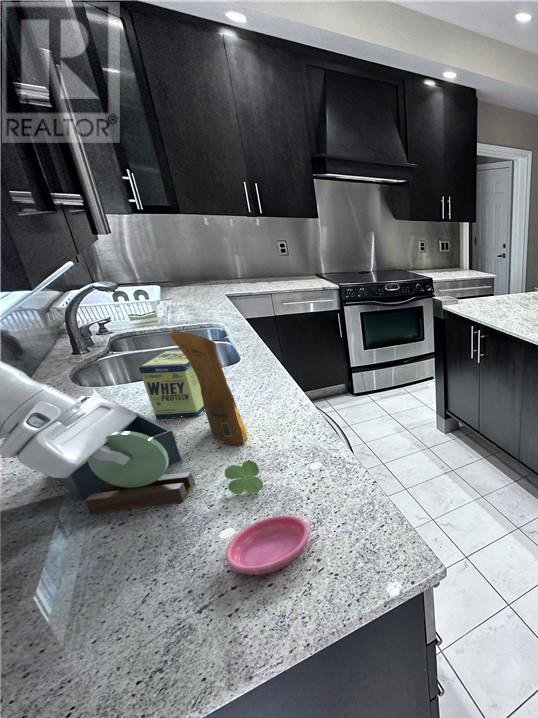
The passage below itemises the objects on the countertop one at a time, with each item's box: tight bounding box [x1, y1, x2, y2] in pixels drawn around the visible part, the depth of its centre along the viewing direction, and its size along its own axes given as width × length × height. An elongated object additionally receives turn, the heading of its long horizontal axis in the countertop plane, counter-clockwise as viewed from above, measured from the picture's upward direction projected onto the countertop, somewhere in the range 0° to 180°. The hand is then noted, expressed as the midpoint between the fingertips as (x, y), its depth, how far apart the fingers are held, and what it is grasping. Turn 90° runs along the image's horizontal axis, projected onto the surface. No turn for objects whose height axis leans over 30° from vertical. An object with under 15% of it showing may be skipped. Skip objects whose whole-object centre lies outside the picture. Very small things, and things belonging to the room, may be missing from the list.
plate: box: [88, 431, 169, 487], centre depth 78 cm, size 1×12×12 cm, turn 107°
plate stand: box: [84, 471, 196, 515], centre depth 81 cm, size 6×15×3 cm, turn 106°
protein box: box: [138, 348, 205, 420], centre depth 116 cm, size 10×16×16 cm
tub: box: [55, 411, 182, 502], centre depth 90 cm, size 17×17×8 cm
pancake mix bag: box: [169, 329, 248, 446], centre depth 100 cm, size 7×19×28 cm, turn 54°
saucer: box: [225, 514, 310, 576], centre depth 70 cm, size 12×12×3 cm
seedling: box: [224, 460, 264, 495], centre depth 87 cm, size 7×8×6 cm
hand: (132, 456), depth 78 cm, fingers closed on plate, 1 cm apart
